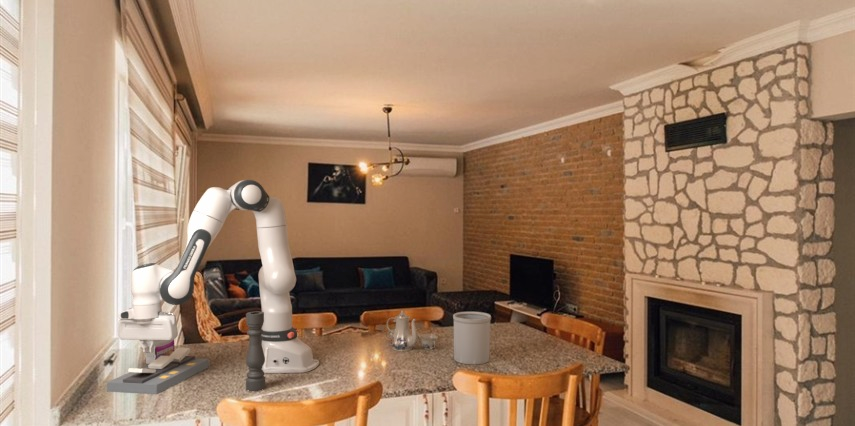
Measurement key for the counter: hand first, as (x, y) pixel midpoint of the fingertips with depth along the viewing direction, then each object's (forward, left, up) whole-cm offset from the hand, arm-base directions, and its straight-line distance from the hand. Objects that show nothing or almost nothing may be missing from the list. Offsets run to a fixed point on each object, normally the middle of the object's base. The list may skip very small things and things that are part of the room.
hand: (148, 352), depth 183 cm
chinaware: (-76, -61, -11) cm, 99 cm away
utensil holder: (-105, -46, -11) cm, 116 cm away
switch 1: (+1, +3, -6) cm, 6 cm away
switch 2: (+1, -7, -6) cm, 9 cm away
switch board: (+1, -7, -11) cm, 13 cm away
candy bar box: (+16, -27, -11) cm, 33 cm away
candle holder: (-37, -2, -11) cm, 39 cm away
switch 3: (+1, -17, -6) cm, 18 cm away
